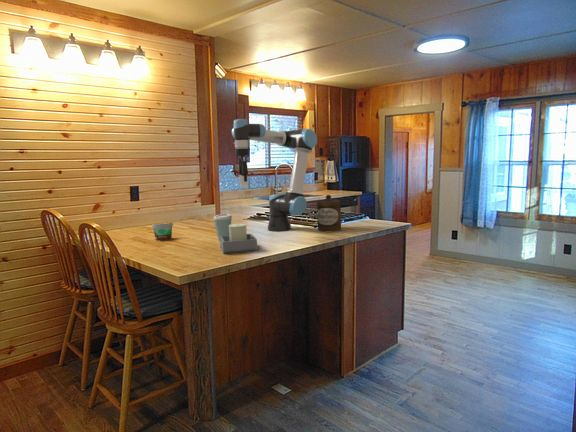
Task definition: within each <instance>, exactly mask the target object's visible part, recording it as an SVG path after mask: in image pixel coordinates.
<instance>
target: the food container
mask: <svg viewBox="0 0 576 432" xmlns="http://www.w3.org/2000/svg"><path fill="white" fill-rule="evenodd" d="M173 226H174V223H173V221H171V222H168V223H163V222H162V223H156V224H155V223H152V224H151V227H152V229H153V234H154V237H155V238H154V239H155V240H156V241H158V240H162V241H168V240H172V239H171V238H173V236H172V235H173V233H172V232H173Z"/></svg>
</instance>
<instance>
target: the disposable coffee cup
mask: <svg viewBox="0 0 576 432" xmlns="http://www.w3.org/2000/svg"><path fill="white" fill-rule="evenodd" d="M232 218H233V217H232V215H231V214H230V213H220V214H216V215H214V217H213V219H212V220H213V222H214V227H215V231H216V236H217V238H218V241H219V242H220V236H228V235H229V225H231V224H232Z"/></svg>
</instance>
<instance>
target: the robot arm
mask: <svg viewBox="0 0 576 432" xmlns="http://www.w3.org/2000/svg"><path fill="white" fill-rule="evenodd" d="M231 136H232V137H233V138H234V142H233V145H234V152H235V153H234V155H235V156H237V157H238V178H239V179H238V180H239V187H242V188H243V189H249V179H248V178H249V177H248V176H249V170H248V161H247V156H249V155H250V149H249V146H250V145H249V140H250V141H255V142H262V143H268V144H269V143H270V144H275V145H278V147H283V148H289V149H292V150H293V151H294V158H293V163H292V164H293V165H292V169H291V176H290V181H289V188H288V190H286V192H285V193H277V194H270V195H269V198H268V199H269V201H268V203H269V220H268V224H267V230H268V231H271V232H284V231H289V230H291V229H292V225H291V222H290V218H289V215H292V216H301V215H302V214H303V213H304V212H305V211H306V209H307V207H308V201H307V199H306V198H305V193H304V186H305V179H306V173H307V167H308V161H309V160H308V159H309V155H310V154H311V153H312V150H313V148H315V147H316V146H317V143H318V136H317V135H316V132H315V130H313V129H310V128H302V129H294V130H280V131H276V130H269V129H266V126H265V125H264V124H262V123H249V122H248V119H245V118H238V119H237V118H236V119H234V120H233V128H232V129H231Z"/></svg>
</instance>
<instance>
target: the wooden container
mask: <svg viewBox="0 0 576 432" xmlns="http://www.w3.org/2000/svg"><path fill="white" fill-rule="evenodd" d="M316 207H317V210H316V211H317V214H316V215H317V217H316V218H317V220H316V221H317V223H316V224H317V231H320V232H325V231H331V232H337V231H341V230H342V212H341V211H342V210H341V200H339V199H338V200H337V199H332V195H330V194H327V195H326V196H325V199H323V200H318V201H316Z"/></svg>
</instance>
